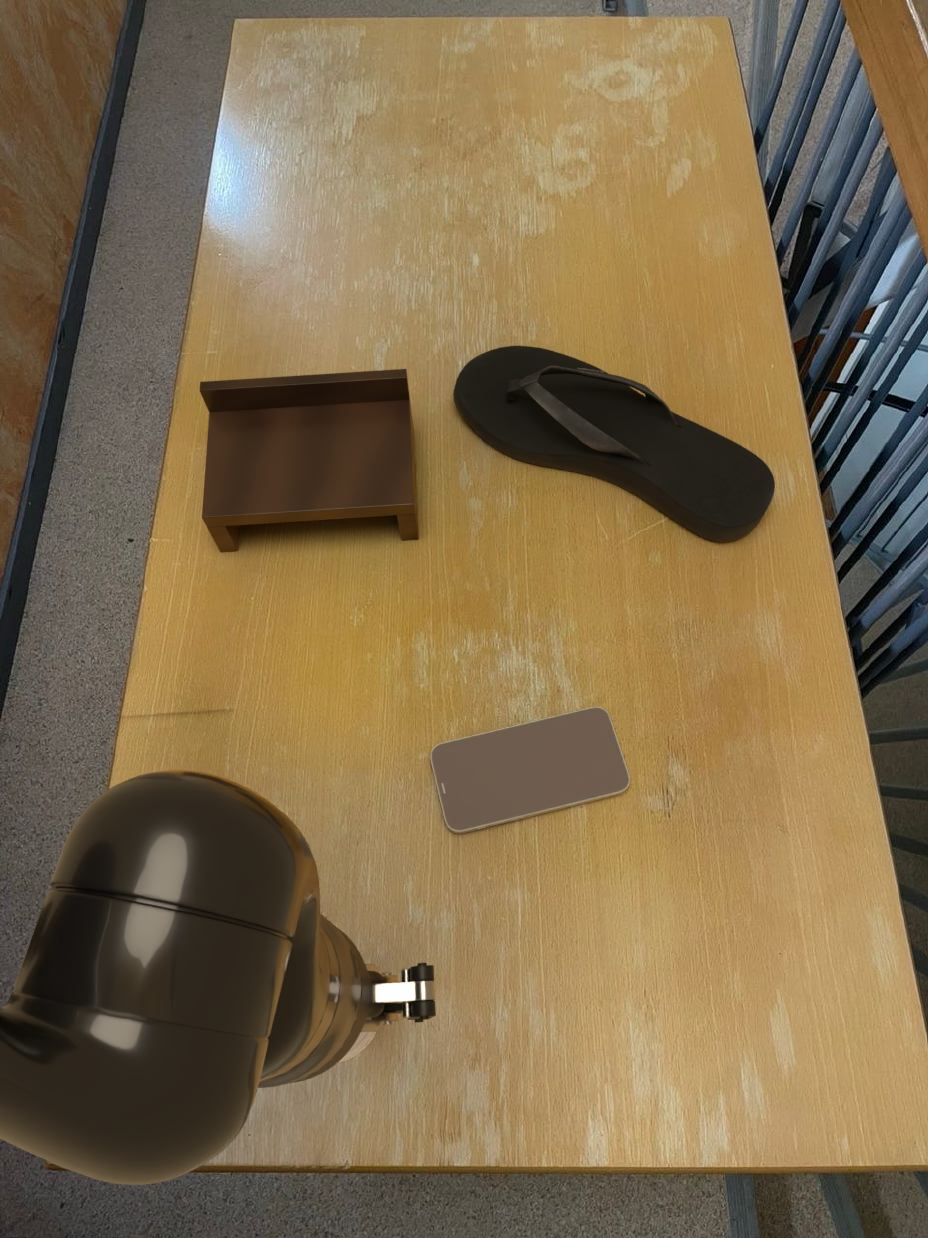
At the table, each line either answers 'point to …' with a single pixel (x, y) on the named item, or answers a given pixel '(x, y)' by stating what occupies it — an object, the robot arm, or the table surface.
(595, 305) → the table surface
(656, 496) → the sandal
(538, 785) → the smartphone
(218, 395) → the shelf
